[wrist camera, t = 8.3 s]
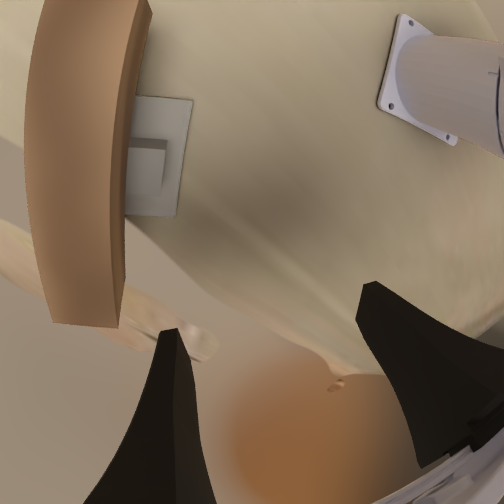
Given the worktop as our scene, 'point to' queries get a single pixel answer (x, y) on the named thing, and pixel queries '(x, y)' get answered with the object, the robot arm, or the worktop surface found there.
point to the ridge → (156, 155)
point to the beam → (82, 151)
